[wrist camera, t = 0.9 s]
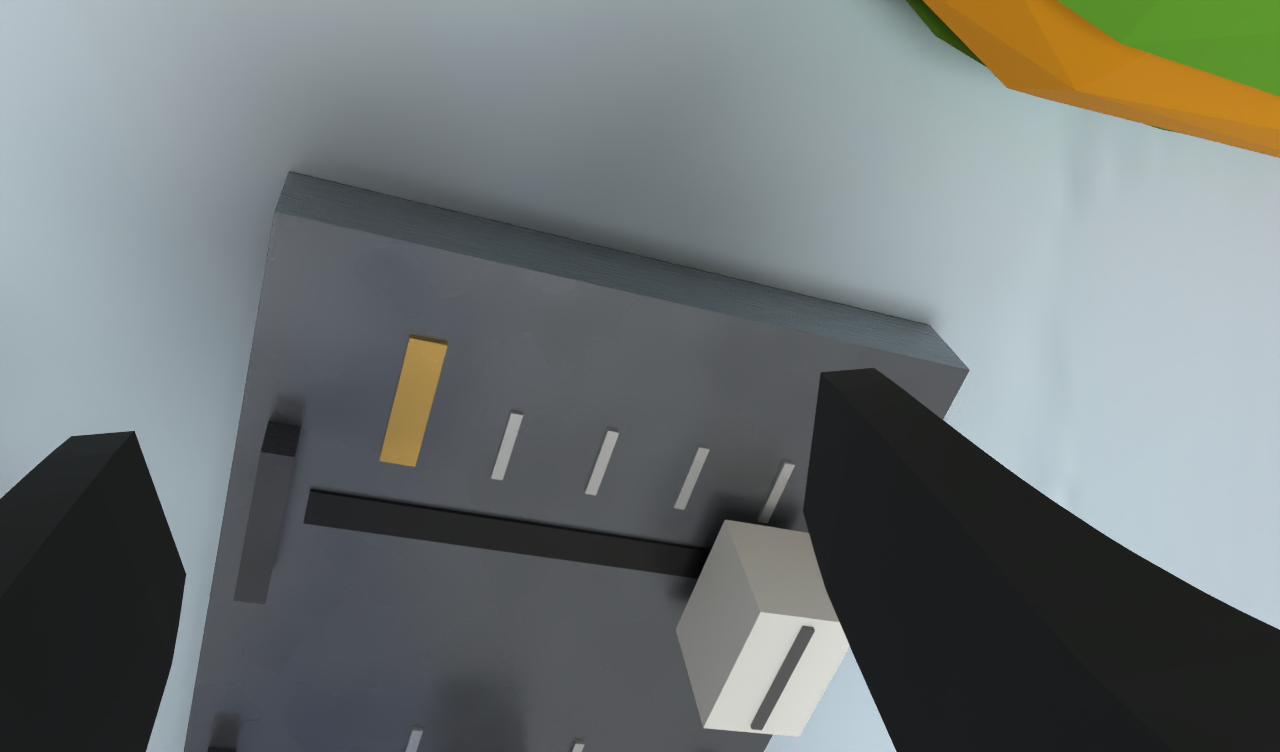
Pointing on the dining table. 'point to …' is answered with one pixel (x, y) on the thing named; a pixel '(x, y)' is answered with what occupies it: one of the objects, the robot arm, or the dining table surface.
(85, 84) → the dining table surface
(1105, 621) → the robot arm
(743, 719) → the fader tab
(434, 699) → the console
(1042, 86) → the corn
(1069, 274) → the dining table surface
